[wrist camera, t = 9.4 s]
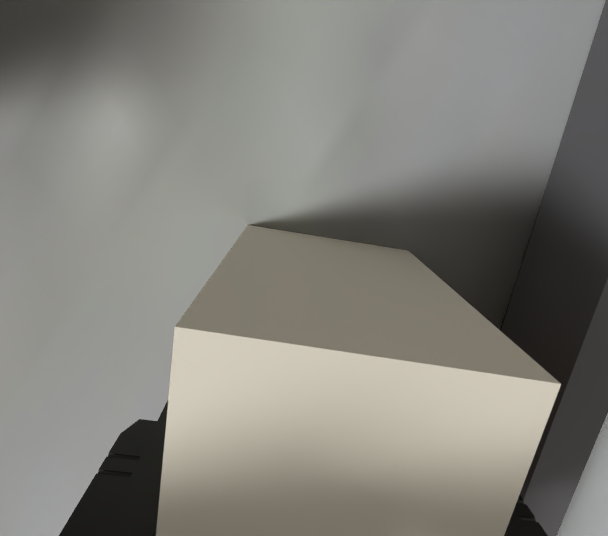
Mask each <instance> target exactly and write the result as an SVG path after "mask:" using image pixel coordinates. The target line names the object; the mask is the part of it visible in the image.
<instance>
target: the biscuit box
mask: <svg viewBox="0 0 608 536" xmlns="http://www.w3.org/2000/svg"><path fill="white" fill-rule="evenodd" d="M560 386H561V383H560V382H558V381H557V380H556V379H555V378H554V377H553V376H552V375H550V374H549V373H548V372H547V371H546V370H545V369H544V368H542V367H541V366H540V365H539V364H538V363H537V362H536V361H534V360H533V359H532V358H531V357H530V356H529V355H528V354H526V353H525V352H524V351H523V350H522V349H521V348H519V347H518V346H517V345H516V344H515V343H514V342H513V341H511V340H510V339H509V338H508V337H507V336H506V335H505V334H503V333H502V332H501V331H500V330H499V329H498V328H497V327H495V326H494V325H493V324H492V323H491V322H490V321H489V320H487V319H486V318H485V317H484V316H483V315H482V314H480V313H479V312H478V311H477V310H476V309H475V308H474V307H472V306H471V305H470V304H469V303H468V302H467V301H466V300H464V299H463V298H462V297H461V296H460V295H459V294H458V293H456V292H455V291H454V290H453V289H452V288H451V287H450V286H448V285H447V284H446V283H445V282H444V281H443V280H441V279H440V278H439V277H438V276H437V275H436V274H435V273H433V272H432V271H431V270H430V269H429V268H428V267H427V266H425V265H424V264H423V263H422V262H421V261H420V260H419V259H417V258H416V257H415V256H414V255H413V254H412V253H411V252H409V251H408V250H401V249H395V248H389V247H383V246H376V245H370V244H364V243H358V242H351V241H345V240H339V239H333V238H326V237H320V236H314V235H308V234H301V233H295V232H289V231H283V230H276V229H270V228H264V227H258V226H251V225H248V226H247V227H246V228H245V230H244V231H243V233H242V234H241V235H240V237H239V238H238V240H237V241H236V242H235V244H234V245H233V247H232V248H231V249H230V251H229V252H228V254H227V255H226V256H225V258H224V259H223V261H222V262H221V263H220V265H219V266H218V268H217V269H216V270H215V272H214V273H213V274H212V276H211V277H210V279H209V280H208V281H207V283H206V284H205V286H204V287H203V288H202V290H201V291H200V293H199V294H198V295H197V297H196V298H195V300H194V301H193V302H192V304H191V305H190V307H189V308H188V309H187V311H186V312H185V314H184V315H183V316H182V318H181V319H180V321H179V322H178V323H177V325H176V326H175V333H174V344H173V355H172V366H171V376H170V387H169V398H168V409H167V420H166V431H165V442H164V452H163V463H162V474H161V485H160V496H159V507H158V517H157V528H156V536H504V534H505V532H506V529H507V526H508V524H509V521H510V519H511V516H512V513H513V511H514V508H515V505H516V503H517V500H518V497H519V495H520V492H521V489H522V487H523V484H524V481H525V479H526V476H527V474H528V471H529V468H530V466H531V463H532V460H533V458H534V455H535V452H536V450H537V447H538V444H539V442H540V439H541V436H542V434H543V431H544V429H545V426H546V423H547V421H548V418H549V415H550V413H551V410H552V407H553V405H554V402H555V399H556V397H557V394H558V391H559V389H560Z"/></svg>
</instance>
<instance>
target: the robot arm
mask: <svg viewBox="0 0 608 536" xmlns="http://www.w3.org/2000/svg"><path fill="white" fill-rule="evenodd" d="M167 409H168V401H167V403H166V405H165V407H164V409H163V411H162V413H161V415H160V417H159V419H158V421H150V420H141V419H139V420H138V421H137V422H135V423H134V424H133V425H131V426H130V427H129V428H127V429H126V430H125V431H123V432H122V433H121V434H120V435H119V437H118V439H117V440H116V442H115V444H114V445H113V447H112V448H111V450H110V452H109V455H108V457H106V458H105V460H104V462H103V463H102V465H101V467H100V468H99V472H98V474H96V475H95V477H94V478H93V480H92V482H91V483H90V485H89V487H88V488H87V490H86V492H85V493H84V495H83V497H82V498H81V500H80V502H79V503H78V505H77V507H76V508H75V510H74V512H73V513H72V515H71V517H70V518H69V520H68V522H67V523H66V525H65V527H64V528H63V530H62V532H61V533H60V535H59V536H156V528H157V517H158V507H159V496H160V485H161V474H162V463H163V452H164V442H165V431H166V420H167ZM504 536H548V535H547V534H546V532H545V531H544V529H543V528H542V526H541V525H540V524H539V522H536V520H535V516H534V515H533V513H532V512H531V510H530V509H529V507H528V506H527V504H524V500H523V498H522V497H521V495H519V497H518V500H517V503H516V505H515V508H514V511H513V513H512V516H511V519H510V521H509V524H508V526H507V529H506V532H505V534H504Z"/></svg>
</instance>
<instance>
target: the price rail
mask: <svg viewBox="0 0 608 536" xmlns="http://www.w3.org/2000/svg"><path fill="white" fill-rule="evenodd" d="M501 332H502V333H503V334H505V335H506V336H507V337H508V338H509V339H510V340H511V341H513V342H514V343H515V344H516V345H517V346H518V347H519V348H521V349H522V350H523V351H524V352H525V353H526V354H528V355H529V356H530V357H531V358H532V359H533V360H534V361H536V362H537V363H538V364H539V365H540V366H541V367H542V368H544V369H545V370H546V371H547V372H548V373H549V374H550V375H552V376H553V377H554V378H555V379H556V380H557V381H558V382H560V383H561V386H560V389H559V391H558V394H557V397H556V399H555V402H554V405H553V407H552V410H551V413H550V415H549V418H548V421H547V423H546V426H545V429H544V431H543V434H542V436H541V439H540V442H539V444H538V447H537V450H536V452H535V455H534V458H533V460H532V463H531V466H530V468H529V471H528V474H527V476H526V479H525V481H524V484H523V487H522V489H521V492H520V495H521V497H522V498H523V500H524V504H527V506H528V507H529V509H530V510H531V512H532V513H533V515H534V516H535V520H536V522H539V524H540V525H541V526H542V528H543V529H544V531H545V532H546V534H547V535H548V536H556V535H557V532H558V530H559V527H560V525H561V523H562V520H563V518H564V515H565V513H566V511H567V508H568V506H569V503H570V501H571V499H572V496H573V494H574V492H575V489H576V487H577V484H578V482H579V480H580V477H581V475H582V472H583V470H584V468H585V465H586V463H587V460H588V458H589V456H590V453H591V451H592V448H593V446H594V444H595V441H596V439H597V436H598V434H599V432H600V429H601V427H602V425H603V422H604V420H605V417H606V415H607V413H608V0H606V2H605V5H604V8H603V11H602V15H601V18H600V21H599V24H598V27H597V30H596V33H595V37H594V40H593V43H592V46H591V49H590V52H589V55H588V58H587V62H586V65H585V68H584V71H583V74H582V77H581V80H580V84H579V87H578V90H577V93H576V96H575V99H574V102H573V105H572V109H571V112H570V115H569V118H568V121H567V124H566V127H565V131H564V134H563V137H562V140H561V143H560V146H559V149H558V153H557V156H556V159H555V162H554V165H553V168H552V171H551V174H550V178H549V181H548V184H547V187H546V190H545V193H544V196H543V200H542V203H541V206H540V209H539V212H538V215H537V218H536V222H535V225H534V228H533V231H532V234H531V237H530V240H529V243H528V247H527V250H526V253H525V256H524V259H523V262H522V265H521V269H520V272H519V275H518V278H517V281H516V284H515V287H514V290H513V294H512V297H511V300H510V303H509V306H508V309H507V312H506V316H505V319H504V322H503V325H502V328H501Z"/></svg>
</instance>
